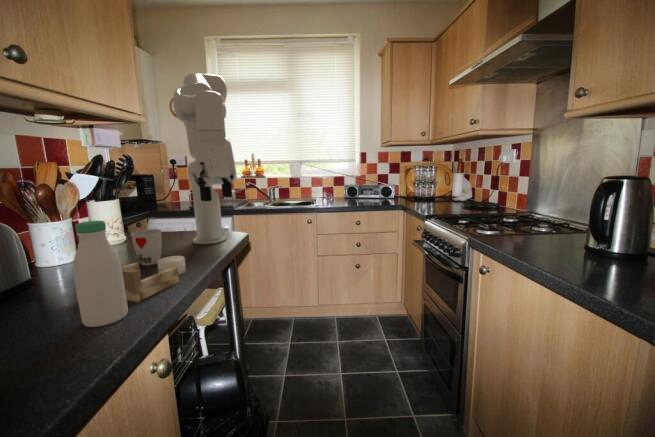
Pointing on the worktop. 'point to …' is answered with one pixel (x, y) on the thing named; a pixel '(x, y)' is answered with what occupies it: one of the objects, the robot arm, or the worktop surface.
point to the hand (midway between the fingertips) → (217, 198)
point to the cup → (147, 245)
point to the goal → (146, 282)
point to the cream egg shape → (172, 264)
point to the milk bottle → (98, 277)
